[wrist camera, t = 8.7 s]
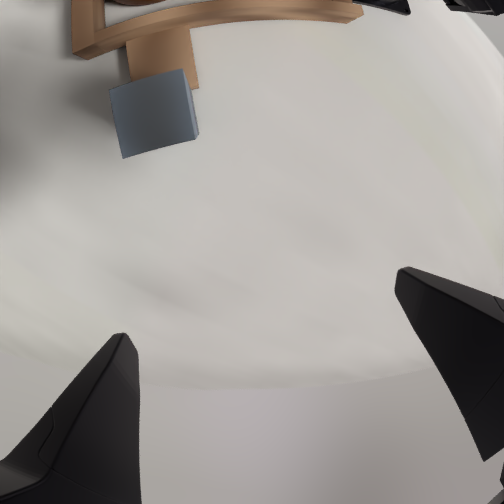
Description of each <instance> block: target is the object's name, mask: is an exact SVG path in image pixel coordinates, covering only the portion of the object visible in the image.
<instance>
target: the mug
mask: <svg viewBox="0 0 504 504" xmlns="http://www.w3.org/2000/svg"><path fill="white" fill-rule="evenodd" d="M114 1H116V2H119V3H122V4H126V5H148V4H154V3H158V2H162V1H165V0H114Z"/></svg>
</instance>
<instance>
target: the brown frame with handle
mask: <svg viewBox="0 0 504 504" xmlns="http://www.w3.org/2000/svg"><path fill="white" fill-rule="evenodd" d="M362 15H364V13H363V9H362V6H361V5H357V4H353V3H352V0H214V1H207V2H200V3H194V4H189V5H183V6H178V7H174V8H169V9H165V10H161V11H157V12H153V13H150V14H146V15H143V16H139V17H136V18H133V19H130V20H127V21H124V22H121V23H118V24H115V25H113V26H110V27H107V28H106V27H105V9H104V0H72V1H71V33H72V52H73V54H75V55H77V56H80V57H82V58H84V59H86V60H90V59H92V58H94V57H97V56H99V55H102V54H104V53H107V52H109V51H112V50H115V49H118V48H120V47H123V46H126V49H127V57H128V64H129V71H130V78H131V82H130V83H127V84H124V85H121V86H119V87H116V88H113V89H110V90H109V93H110V99H111V105H112V111H113V116H114V121H115V126H116V131H117V136H118V140H119V145H120V149H121V153H122V158H123V159H124V158H127V157H131V156H134V155H137V154H141V153H144V152H147V151H151V150H155V149H158V148H162V147H166V146H170V145H174V144H178V143H182V142H186V141H191V140H195V139H196V138H197V136H198V135H199V130H198V125H197V119H196V114H195V109H194V103H193V97H192V92H191V90H193V89H198V88H199V85H198V79H197V73H196V67H195V61H194V55H193V49H192V43H191V37H190V30H189V29H191V28H196V27H202V26H208V25H215V24H222V23H231V22H241V21H254V20H313V21H327V22H337V23H345V24H347V23H349V22H351V21H353V20H355V19H356V18H358V17H360V16H362Z"/></svg>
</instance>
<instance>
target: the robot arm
mask: <svg viewBox="0 0 504 504" xmlns="http://www.w3.org/2000/svg"><path fill="white" fill-rule="evenodd" d="M443 1H444V2H445V3H446V6H447V7H448V8H449V9H450V10H451V11H462V12H472V13H480V14H486V15H494V16H497V15H500V14H503V13H504V0H443ZM352 3H357V4H362V5H367V6H372V7H376V8H380V9H384V10H388V11H392V12H395V13H399V14H402V15H409V14H410V13H411V11H410V8H409V4H408V1H407V0H352ZM395 295H396V297H397V299H398V301H399V302H400V304H401V306H402V308H403V310H404V312H405V314H406V316H407V318H408V320H409V322H410V323H411V325H412V327H413V329H414V331H415V332H416V334H417V336H418V337H419V339H420V340H421V342H422V344H423V345H424V347H425V348H426V350H427V352H428V353H429V355H430V357H431V358H432V360H433V362H434V363H435V365H436V367H437V368H438V370H439V372H440V374H441V375H442V377H443V379H444V381H445V383H446V384H447V386H448V388H449V390H450V392H451V394H452V396H453V397H454V399H455V401H456V403H457V405H458V407H459V409H460V411H461V413H462V415H463V417H464V418H465V422H466V423H467V426H468V428H469V430H470V432H471V434H472V437H473V439H474V441H475V443H476V446H477V448H478V451H479V453H480V455H481V458H482V460H483V461H484V462H485V461H486V460H488V459H489V458H490V457H492V456H493V455H494V454H496V453H497V452H499V451H500V450H501V449H503V448H504V299H501V298H499V297H496V296H492V295H490V294H488V293H485V292H482V291H479V290H477V289H474V288H471V287H468V286H465V285H462V284H460V283H457V282H454V281H451V280H448V279H445V278H442V277H439V276H436V275H433V274H430V273H427V272H424V271H421V270H418V269H415V268H412V267H404V268H401V269H399V270H398V272H397V277H396V283H395ZM139 414H140V385H139V359H138V352H137V350H136V348H135V346H134V345H133V343H132V341H131V340H130V338H129V336H128V335H127V334H126V333H117V334H114V335H113V336H112V337H111V338H110V339H109V340H108V341H107V342H106V343H105V344H104V345H103V347H102V348H101V349H100V350H99V351H98V352H97V353H96V354H95V356H94V357H93V358H92V359H91V360H90V361H89V362H88V363H87V365H86V366H85V367H84V368H83V369H82V370H81V371H80V373H79V374H78V375H77V376H76V377H75V378H74V380H73V381H72V382H71V383H70V384H69V385H68V387H67V388H66V389H65V390H64V391H63V393H62V394H61V395H60V396H59V397H58V399H57V400H56V401H55V402H54V403H53V405H52V407H50V408H49V410H48V411H47V412H46V413H45V414H44V416H43V417H42V418H41V419H40V420H39V422H38V423H37V424H36V425H35V426H34V427H33V428H32V430H31V431H30V432H29V433H28V434H27V435H26V436H25V437H24V438H23V439H22V440H21V442H20V443H19V444H18V445H17V446H16V447H15V448H14V449H13V450H12V452H10V453H9V454H8V455H7V456H6V457H5V458H4V459H3V460H1V461H0V504H142V501H141V489H140V467H139ZM500 481H501V483H502V485H503V487H504V464H503V469H502V473H501V478H500ZM488 504H504V489H503V490H502V491H501V492H500V493H499V494H498V495H496V497H494V498H493V499H492V500H491V501H490V502H489V503H488Z"/></svg>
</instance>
